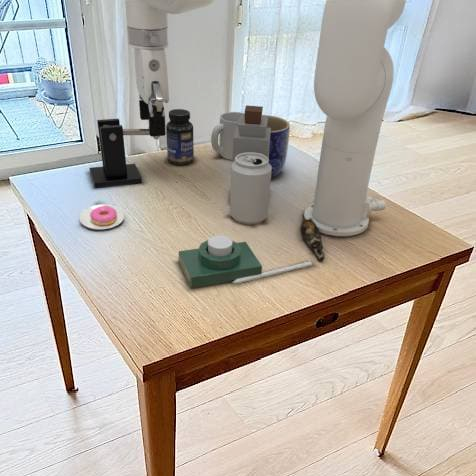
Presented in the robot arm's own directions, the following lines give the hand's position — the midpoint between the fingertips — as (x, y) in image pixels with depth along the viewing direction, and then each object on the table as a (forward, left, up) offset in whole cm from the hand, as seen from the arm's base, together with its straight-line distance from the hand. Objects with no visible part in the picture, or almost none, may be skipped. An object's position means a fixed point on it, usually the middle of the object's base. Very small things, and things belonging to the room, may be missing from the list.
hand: (152, 127), depth 111 cm
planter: (-23, +5, -10) cm, 26 cm away
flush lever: (+5, 0, -2) cm, 5 cm away
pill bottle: (-7, -6, -10) cm, 14 cm away
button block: (-2, +40, -10) cm, 42 cm away
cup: (-19, -6, -10) cm, 23 cm away
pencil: (-10, +44, -11) cm, 46 cm away
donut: (+14, +17, -11) cm, 25 cm away
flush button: (-2, +40, -7) cm, 41 cm away
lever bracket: (+9, 0, -10) cm, 13 cm away
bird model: (-21, +36, -11) cm, 43 cm away
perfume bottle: (-16, +16, -11) cm, 25 cm away
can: (-13, +24, -10) cm, 29 cm away
